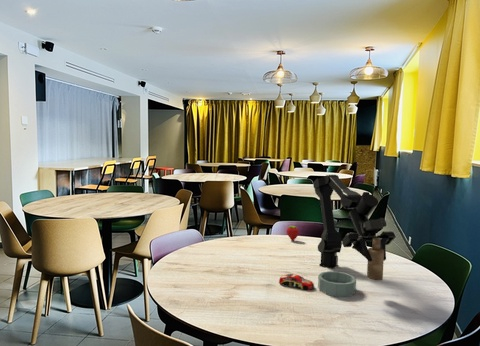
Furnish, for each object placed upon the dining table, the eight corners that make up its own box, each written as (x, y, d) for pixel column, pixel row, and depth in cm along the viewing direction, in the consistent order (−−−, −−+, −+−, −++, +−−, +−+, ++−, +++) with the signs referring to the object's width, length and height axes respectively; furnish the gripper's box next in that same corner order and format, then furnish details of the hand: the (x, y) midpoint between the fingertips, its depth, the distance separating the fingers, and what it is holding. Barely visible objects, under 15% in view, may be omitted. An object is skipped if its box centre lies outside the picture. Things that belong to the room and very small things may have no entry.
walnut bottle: (365, 278, 125) (367, 238, 124) (368, 274, 130) (370, 235, 129) (381, 281, 123) (383, 241, 121) (383, 276, 127) (385, 238, 126)
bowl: (313, 291, 130) (313, 279, 130) (325, 280, 141) (325, 269, 141) (349, 299, 124) (350, 287, 123) (358, 287, 135) (359, 275, 134)
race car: (315, 287, 135) (316, 277, 135) (311, 292, 130) (311, 281, 130) (282, 280, 141) (283, 270, 141) (277, 285, 136) (277, 275, 136)
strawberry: (294, 243, 196) (295, 225, 195) (283, 240, 201) (284, 222, 200) (301, 241, 200) (301, 223, 199) (290, 238, 205) (290, 221, 205)
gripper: (347, 210, 126) (364, 250, 116) (393, 209, 130) (413, 247, 120) (335, 227, 134) (350, 266, 124) (379, 225, 139) (397, 263, 129)
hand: (377, 260), depth 124 cm, fingers closed on walnut bottle, 5 cm apart
